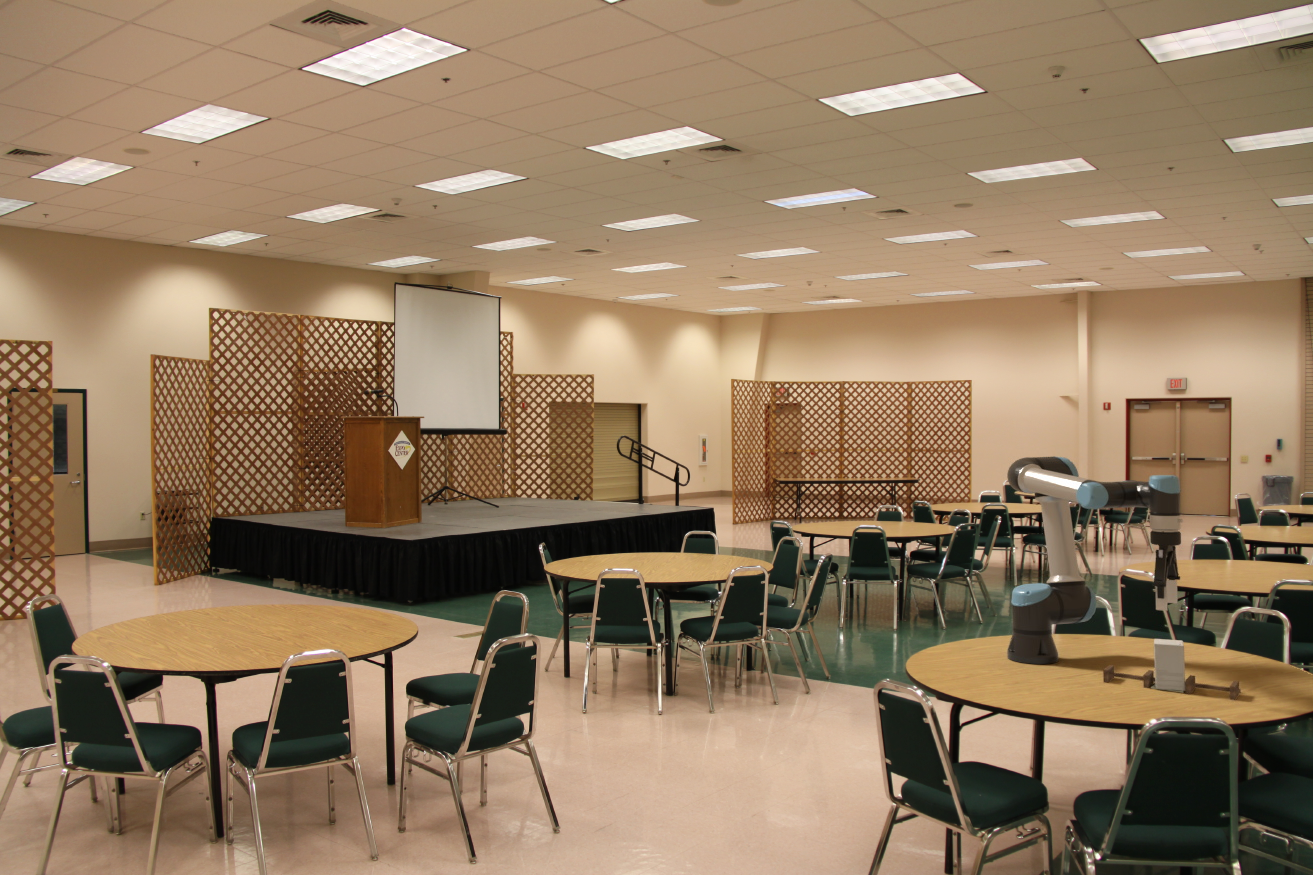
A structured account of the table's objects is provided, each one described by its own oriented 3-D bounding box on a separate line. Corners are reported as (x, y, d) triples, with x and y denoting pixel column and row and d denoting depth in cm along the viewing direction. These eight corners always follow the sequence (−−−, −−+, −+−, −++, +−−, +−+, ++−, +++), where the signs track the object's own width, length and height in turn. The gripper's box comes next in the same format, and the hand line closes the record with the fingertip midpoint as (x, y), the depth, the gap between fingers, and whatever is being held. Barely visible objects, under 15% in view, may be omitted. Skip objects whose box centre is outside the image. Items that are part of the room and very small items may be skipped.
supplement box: (1184, 685, 261) (1183, 640, 261) (1185, 691, 254) (1184, 645, 254) (1155, 682, 264) (1154, 637, 264) (1154, 688, 258) (1153, 642, 258)
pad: (1150, 688, 259) (1150, 687, 259) (1155, 683, 264) (1155, 682, 264) (1183, 692, 254) (1183, 691, 254) (1187, 687, 259) (1187, 686, 259)
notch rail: (1103, 681, 267) (1103, 669, 267) (1111, 675, 274) (1111, 663, 274) (1235, 699, 246) (1235, 686, 246) (1240, 692, 254) (1240, 679, 254)
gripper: (1171, 535, 248) (1172, 614, 248) (1189, 527, 267) (1190, 601, 267) (1140, 533, 252) (1141, 611, 252) (1160, 526, 272) (1161, 598, 272)
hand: (1166, 606), depth 260 cm, fingers open, 13 cm apart
